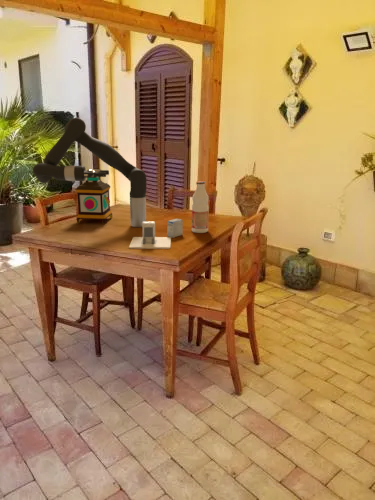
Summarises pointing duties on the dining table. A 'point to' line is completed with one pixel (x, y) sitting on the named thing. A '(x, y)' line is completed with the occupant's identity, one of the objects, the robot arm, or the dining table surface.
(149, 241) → the drive
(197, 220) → the fruit juice
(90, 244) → the dining table surface
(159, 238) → the pin tray
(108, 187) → the decorative lantern
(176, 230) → the medicine box
